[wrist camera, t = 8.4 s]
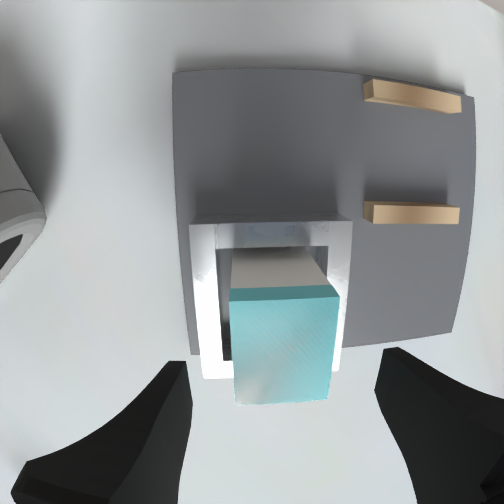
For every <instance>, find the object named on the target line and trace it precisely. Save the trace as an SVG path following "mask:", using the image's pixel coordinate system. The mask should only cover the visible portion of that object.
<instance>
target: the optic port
mask: <svg viewBox="0 0 504 504" xmlns="http://www.w3.org/2000/svg"><path fill="white" fill-rule="evenodd" d="M352 225H353V221H352V220H350V219H348V218H347V217H345V216H343V215H342V214H340V213H338V212H315V213H257V214H223V215H196V216H195V217H194V218H193V220H192V221H191V222H190V224H189V238H190V251H191V264H192V276H193V287H194V298H195V308H196V318H197V328H198V337H199V345H200V354H201V362H202V370H203V378H233V365H232V349H231V338H224V324H223V309H222V293H221V276H220V257H219V249H222V248H255V247H290V246H317V254H316V263H317V265H318V266H319V268H320V269H321V271H322V272H323V273H324V275H325V276H326V278H327V279H328V281H329V282H330V284H331V285H333V287H334V288H335V290H336V291H337V293H338V294H339V296H340V304H339V314H338V324H337V333H336V341H335V350H334V357H333V365H332V371H338V369H339V362H340V355H341V347H342V340H343V331H344V323H345V314H346V305H347V295H348V284H349V272H350V259H351V244H352Z"/></svg>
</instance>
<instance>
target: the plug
mask: <svg viewBox="0 0 504 504" xmlns="http://www.w3.org/2000/svg"><path fill="white" fill-rule="evenodd" d="M339 304H340V296H339V294H338V293H337V291H336V290H335V288H334V287H333V285H331V284H330V282H329V281H328V279H327V278H326V276H325V275H324V273H323V272H322V271H321V269H320V268H319V266H318V265H317V263H316V262H315V260H314V259H313V257H312V256H311V255H310V253H309V252H308V250H307V249H306V247H305V246H290V247H255V248H233V257H232V271H231V286H230V292H229V314H230V332H231V349H232V365H233V380H234V395H235V405H260V404H278V403H293V402H305V401H315V400H324V399H328V393H329V386H330V379H331V372H332V365H333V357H334V350H335V341H336V333H337V324H338V314H339Z"/></svg>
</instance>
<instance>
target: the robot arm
mask: <svg viewBox="0 0 504 504" xmlns="http://www.w3.org/2000/svg"><path fill="white" fill-rule="evenodd" d="M374 391H375V394H376V397H377V401H378V404H379V406H380V409H381V412H382V414H383V416H384V418H385V420H386V422H387V424H388V426H389V428H390V430H391V432H392V434H393V436H394V438H395V440H396V442H397V444H398V446H399V448H400V450H401V452H402V455H403V457H404V459H405V462H406V465H407V468H408V471H409V474H410V477H411V480H412V484H413V488H414V491H415V495H416V499H417V503H418V504H504V399H502V398H498V397H495V396H492V395H489V394H486V393H483V392H480V391H478V390H475V389H473V388H470V387H468V386H466V385H464V384H462V383H460V382H458V381H456V380H454V379H452V378H450V377H448V376H446V375H445V374H443V373H441V372H439V371H438V370H436V369H434V368H433V367H431V366H429V365H428V364H426V363H424V362H423V361H421V360H419V359H418V358H416V357H415V356H413V355H411V354H410V353H408V352H406V351H405V350H403V349H401V348H399V347H394V348H387V349H384V350H383V354H382V359H381V364H380V368H379V373H378V377H377V381H376V385H375V389H374ZM192 406H193V401H192V396H191V390H190V384H189V378H188V372H187V365H186V361H168V362H167V363H166V364H165V366H164V367H163V368H162V369H161V370H160V372H159V373H158V374H157V375H156V376H155V377H154V379H153V380H152V381H151V382H150V383H149V384H148V385H147V386H146V387H145V389H144V390H143V391H142V392H141V393H140V394H139V395H138V396H137V397H136V398H135V399H134V400H133V401H132V402H131V403H130V404H129V405H128V406H127V407H126V408H124V409H123V410H122V411H121V412H120V413H119V414H118V415H116V416H115V417H114V418H113V419H111V420H110V421H109V422H107V423H106V424H105V425H103V426H102V427H100V428H99V429H97V430H96V431H94V432H92V433H91V434H89V435H88V436H86V437H84V438H83V439H81V440H79V441H77V442H75V443H73V444H71V445H69V446H67V447H65V448H63V449H61V450H58V451H56V452H53V453H51V454H48V455H45V456H42V457H39V458H36V459H33V460H30V461H27V462H26V463H25V465H24V467H23V469H22V470H21V472H20V474H19V476H18V478H17V480H16V482H15V484H14V486H13V488H12V490H11V495H12V498H13V500H14V502H15V503H16V504H177V503H178V490H179V481H180V475H181V470H182V465H183V460H184V456H185V451H186V447H187V442H188V437H189V433H190V428H191V419H192Z"/></svg>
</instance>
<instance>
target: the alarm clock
mask: <svg viewBox="0 0 504 504" xmlns="http://www.w3.org/2000/svg"><path fill="white" fill-rule="evenodd" d="M46 219H47V217H46V214H45V211H44V209H43V206H42V205H41V203H40V202H39V200H38V198H37V197H36V195H35V194H34V193H33V190H32V189H31V187H30V185H29V184H28V182H27V180H26V179H25V177H24V175H23V174H22V172H21V170H20V169H19V167H18V165H17V163H16V162H15V160H14V158H13V156H12V154H11V153H10V151H9V149H8V147H7V145H6V143H5V141H4V139H3V138H2V136H1V134H0V283H1V282H2V281H3V280H4V278H5V277H6V276H7V275H8V273H9V272H10V271H11V270H12V269H13V267H14V266H15V265H16V264H17V263H18V261H19V260H20V259H21V258H22V256H23V255H24V254H25V253H26V251H27V250H28V249H29V248H30V246H31V245H32V244H33V243H34V241H35V240H36V239H37V238H38V237H39V235H40V234H41V232H42V230H43V228H44V226H45V224H46Z"/></svg>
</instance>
